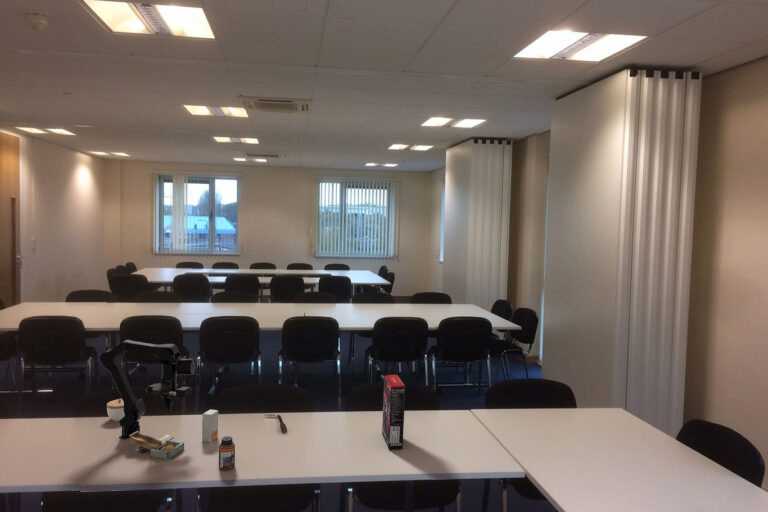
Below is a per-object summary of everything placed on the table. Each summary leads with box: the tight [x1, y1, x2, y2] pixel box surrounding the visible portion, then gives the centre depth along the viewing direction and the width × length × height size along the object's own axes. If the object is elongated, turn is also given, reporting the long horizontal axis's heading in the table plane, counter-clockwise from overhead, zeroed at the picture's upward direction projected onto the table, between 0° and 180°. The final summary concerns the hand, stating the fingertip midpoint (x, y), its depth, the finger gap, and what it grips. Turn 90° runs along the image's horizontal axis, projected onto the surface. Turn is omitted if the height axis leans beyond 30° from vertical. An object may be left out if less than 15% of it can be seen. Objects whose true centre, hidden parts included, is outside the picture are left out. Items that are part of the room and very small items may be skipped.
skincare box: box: [201, 409, 219, 443], centre depth 220 cm, size 6×4×12 cm
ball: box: [165, 445, 174, 451], centre depth 205 cm, size 3×3×3 cm
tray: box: [150, 440, 185, 461], centre depth 205 cm, size 8×10×3 cm
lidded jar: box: [106, 398, 125, 422], centre depth 241 cm, size 11×11×9 cm
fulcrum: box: [137, 446, 149, 455], centre depth 208 cm, size 2×6×2 cm, turn 167°
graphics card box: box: [381, 374, 406, 450], centre depth 222 cm, size 17×7×27 cm, turn 10°
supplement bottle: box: [218, 435, 236, 471], centre depth 195 cm, size 6×6×11 cm
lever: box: [127, 431, 175, 451], centre depth 212 cm, size 12×13×2 cm
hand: (169, 409), depth 221 cm, fingers closed
